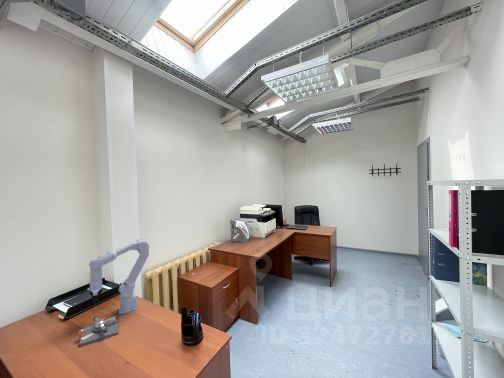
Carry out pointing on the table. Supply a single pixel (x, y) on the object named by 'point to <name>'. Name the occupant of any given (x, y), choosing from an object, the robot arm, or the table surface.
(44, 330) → the table surface
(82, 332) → the silver metal piece
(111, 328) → the stand plate
